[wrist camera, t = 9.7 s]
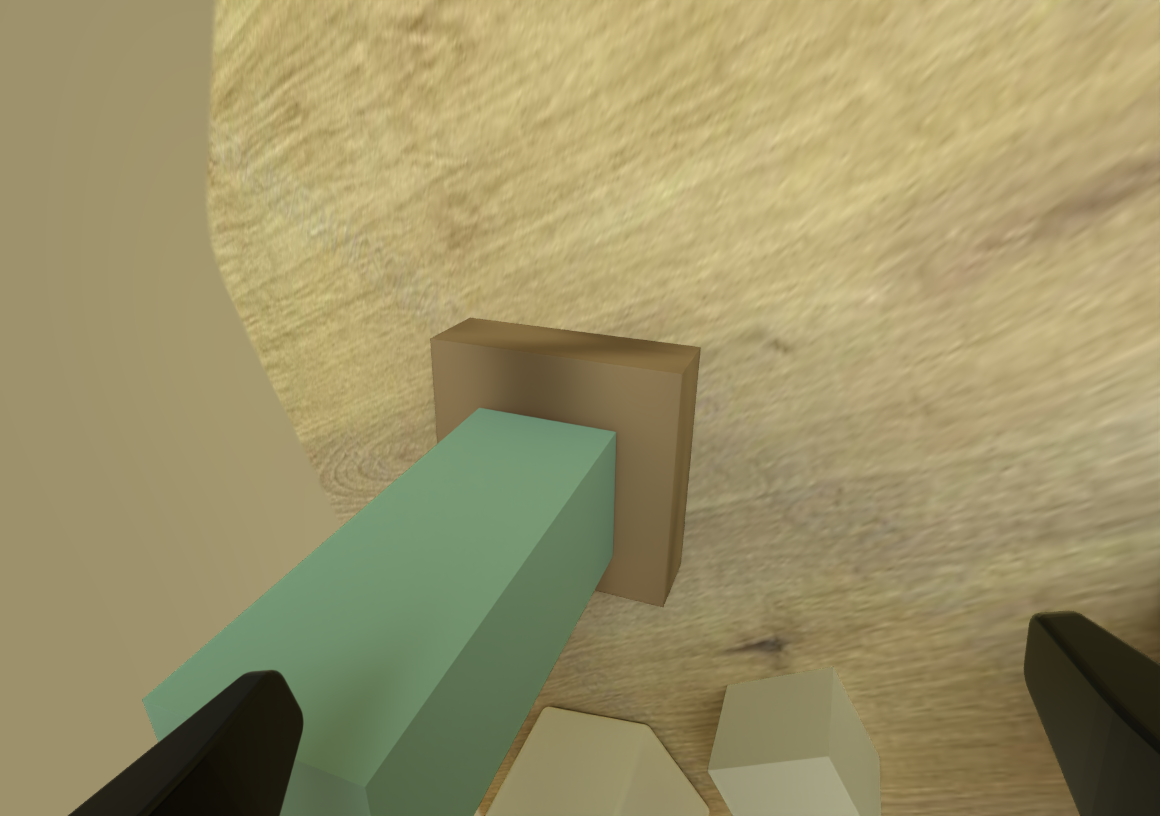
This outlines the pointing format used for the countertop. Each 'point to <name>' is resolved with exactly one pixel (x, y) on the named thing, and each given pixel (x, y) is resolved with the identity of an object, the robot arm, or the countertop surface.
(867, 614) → the countertop surface
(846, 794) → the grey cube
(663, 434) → the walnut block
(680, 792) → the jar
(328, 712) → the teal block
